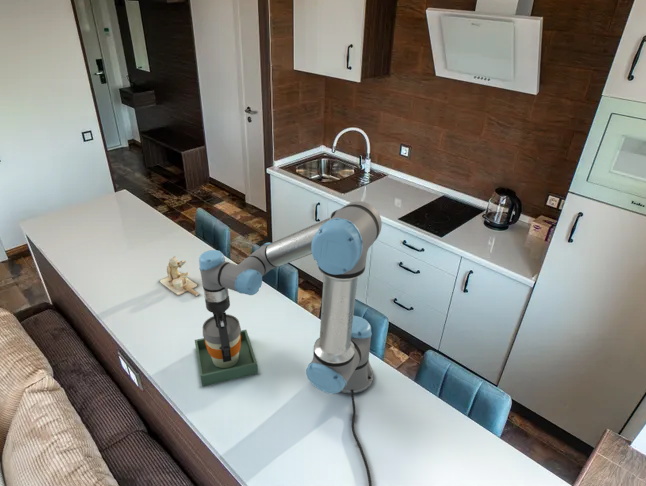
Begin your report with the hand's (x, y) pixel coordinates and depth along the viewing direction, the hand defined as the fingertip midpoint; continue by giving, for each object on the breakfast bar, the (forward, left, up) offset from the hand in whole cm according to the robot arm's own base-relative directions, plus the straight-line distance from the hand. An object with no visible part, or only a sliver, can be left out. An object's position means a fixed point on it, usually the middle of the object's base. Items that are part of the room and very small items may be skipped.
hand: (224, 347), depth 154 cm
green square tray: (0, 0, -6) cm, 6 cm away
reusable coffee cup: (0, 0, -5) cm, 5 cm away
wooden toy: (+52, +11, -6) cm, 54 cm away
